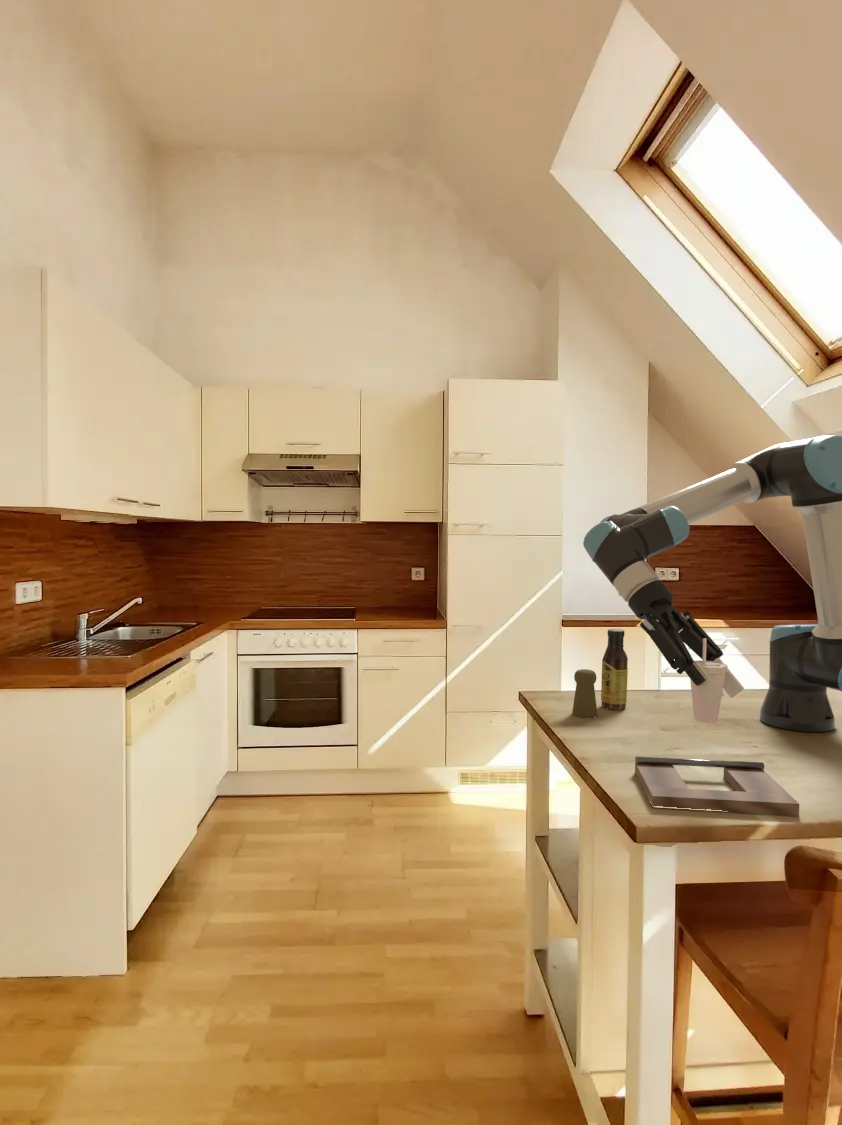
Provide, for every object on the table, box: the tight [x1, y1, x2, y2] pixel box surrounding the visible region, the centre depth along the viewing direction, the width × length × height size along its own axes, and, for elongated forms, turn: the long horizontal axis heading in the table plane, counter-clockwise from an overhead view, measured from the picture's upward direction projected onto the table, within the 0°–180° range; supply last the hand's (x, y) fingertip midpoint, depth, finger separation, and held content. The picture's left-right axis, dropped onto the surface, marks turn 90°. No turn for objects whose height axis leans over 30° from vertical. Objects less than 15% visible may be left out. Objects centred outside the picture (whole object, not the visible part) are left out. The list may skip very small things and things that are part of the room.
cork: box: [571, 668, 598, 719], centre depth 164 cm, size 6×6×11 cm
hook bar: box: [634, 756, 765, 771], centre depth 122 cm, size 22×1×1 cm, turn 82°
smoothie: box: [689, 638, 728, 724], centre depth 116 cm, size 6×6×14 cm
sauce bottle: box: [600, 628, 629, 710], centre depth 170 cm, size 7×6×20 cm
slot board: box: [634, 762, 800, 817], centre depth 115 cm, size 22×16×2 cm
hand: (727, 696), depth 114 cm, fingers closed on smoothie, 6 cm apart
